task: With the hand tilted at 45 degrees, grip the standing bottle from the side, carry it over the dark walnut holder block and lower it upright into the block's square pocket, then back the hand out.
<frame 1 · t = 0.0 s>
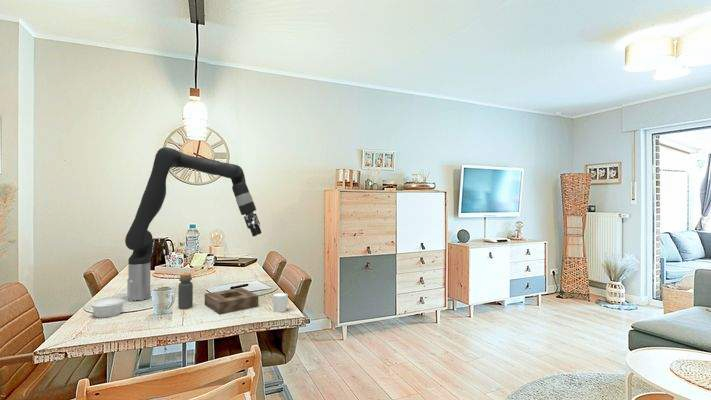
hand: (257, 234, 181), 31 cm above the table, tool tilted 20°, fingers open, 8 cm apart
bottle: (185, 307, 168), on the table
ramekin: (108, 314, 157), on the table
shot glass: (280, 310, 165), on the table
holder block: (231, 305, 172), on the table
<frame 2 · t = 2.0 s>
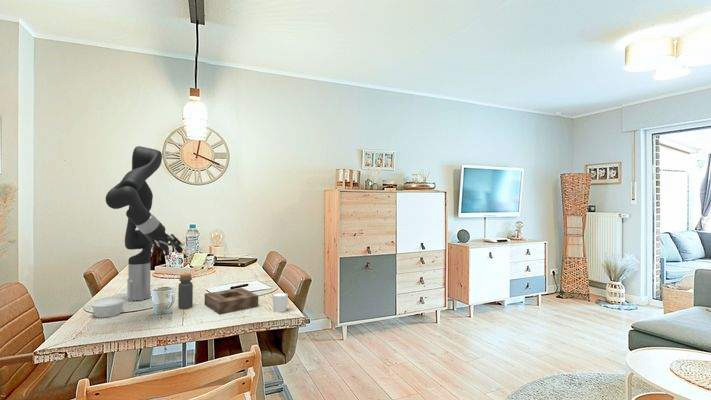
hand: (174, 250, 161), 26 cm above the table, tool tilted 45°, fingers open, 8 cm apart
nothing on the table moved.
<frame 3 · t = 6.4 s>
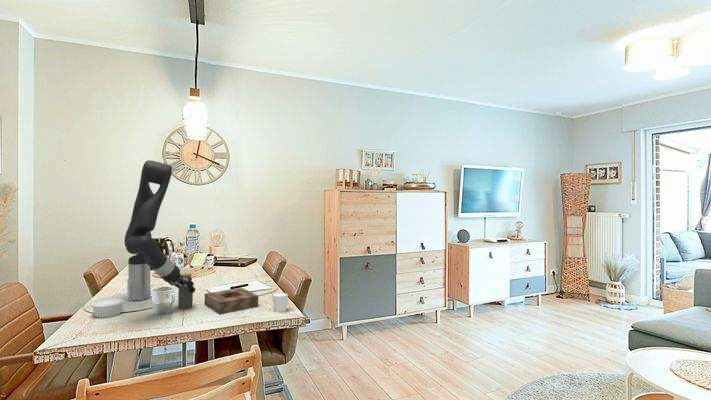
hand: (188, 290, 169), 7 cm above the table, tool tilted 45°, fingers closed on bottle, 5 cm apart
bottle: (185, 307, 168), on the table, touching gripper
everything else where it was.
when the fingers open (10 cm above the table, at t = 12.3 s): bottle drops 1 cm, resting on holder block.
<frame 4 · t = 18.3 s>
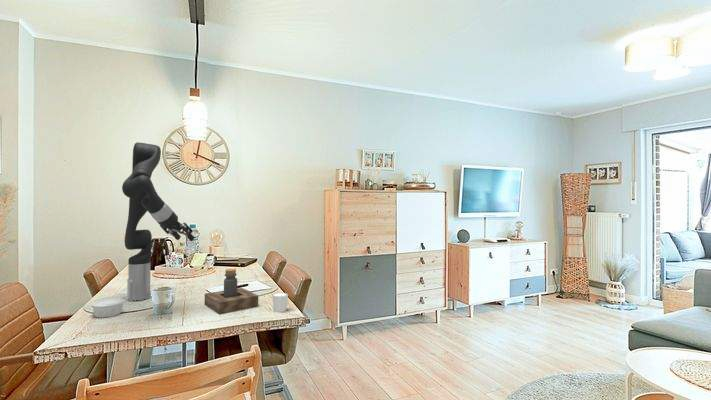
hand: (185, 239, 168), 31 cm above the table, tool tilted 45°, fingers open, 8 cm apart
bottle: (230, 302, 171), point 1 cm above the table, touching holder block
everything else where it was.
at the end: bottle 0.3 cm off-centre on the holder block, point 1.3 cm above the holder block's base; bottle tilted 0°; the gripper is holding nothing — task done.
